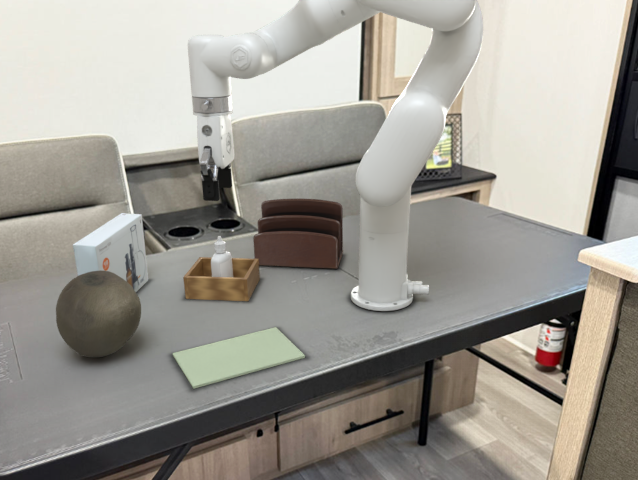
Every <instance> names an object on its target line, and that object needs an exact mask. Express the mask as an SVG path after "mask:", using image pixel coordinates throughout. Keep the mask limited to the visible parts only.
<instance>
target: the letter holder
mask: <svg viewBox="0 0 638 480" xmlns="http://www.w3.org/2000/svg"><path fill="white" fill-rule="evenodd" d="M260 207H261V208H260V209H261V217H260V218H259V219H257V233H256V234H254V236H253V237H252V238H253V239H252V240H253V242H252V243H253V256H254V258H253V259H259V267H280V268H281V267H282V268H284V267H285V268H307V269H327V270H338V268H339V265H340V263H341V260H342V257H343V253H344V250H343V249H344V247H343V245H344V241H343V240H344V239H343V238H344V237H343V236H344V232H343V230H344V229H343V227H344V226H343V225H344V224H343V223H344V222H343V220H344V219H343V218H344V215H343V214H344V213H343V212H344V211H343V210H344V209H343V205H342V204H341V203H339V202H337V201H332V200H327V199H326V200H325V199H317V198H277V199H270V200H264V201H262V202H261V205H260Z"/></svg>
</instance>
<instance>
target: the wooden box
mask: <svg viewBox="0 0 638 480" xmlns="http://www.w3.org/2000/svg"><path fill="white" fill-rule="evenodd" d="M211 259H212V256H211V257H207V256H206V257H205V256H199V257H198V258H197V259H196V260H195V262H194V263H193V264H192V266H191V267H190V268H189V269H188V270H187V272H186V273H185V274H184V275H183V276H182V278H183V279H182V280H183V286H184V296H185V299H186V300H203V301H204V300H205V301H229V302H230V301H231V302H232V301H233V302H249V301H250V299H251V297H252V296H253V293H254V291H255V289H256V287H257V286H258V284H259V282H260V280H261V278H260V276H261V275H260V266H259V259H254V258H245V257H244V258H243V257H232V267H233V277H212V271H211Z"/></svg>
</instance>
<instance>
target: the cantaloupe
mask: <svg viewBox="0 0 638 480" xmlns="http://www.w3.org/2000/svg"><path fill="white" fill-rule="evenodd" d="M139 297H140V296H139V295H138V294H137V292H135V291H134V289H133V287H132V286H131V285H130V284H129V283H128V282H127V281H125V280H124V279H123V278H121V277H119V276H118V275H116V274H115V273H112V272H109V271H101V270H100V271H91V272H87V273H84V274H81V275H79V276H78V275H77V276H75V277H74V278H72V279H71V280H70V281H68V283H67V284H66V285H65V286H64V287H63V288H62V290H61V292H60V293H59V296H58V297H57V301H56V305H55V322H56V327H57V330H58V333H59V335H60V336H61V338H62V340H63V341H64V343H65V344H66V345H67V346H68V347H69V348H70V349H72V351H74V352H75V353H76V354H78V355H80V356H83V357H86V358H102V357H107V356H110V355H111V354H114V353H116V352H117V351H119V350H120V349H122V348H123V347H124V346H125V345H126V344H127V342H128V341H129V340H130V339H131V338H132V337H133V336H134V335H135V333H136V331H137V329H138V328H139V325H140V322H141V318H142V303H141V299H140V298H139Z"/></svg>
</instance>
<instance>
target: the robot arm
mask: <svg viewBox="0 0 638 480" xmlns="http://www.w3.org/2000/svg"><path fill="white" fill-rule="evenodd" d="M380 13H382V14H385V15H388V16H390V17H394V18H397V19H399V20H403V21H406V22H410V23H412V24H417V25H420V26H423V27H426V28H429V29H431V37H430V41H429V45H428V47H427V49H426V50H425V52H424V54H423V56H422V58H421V60H420V61H419V63H418V65H417V67H416V69H415V71H414V73H413V74H412V75H411V78H410V79H409V81H408V83H407V85H406V86H405V87H404V89H403V90H402V92H401V94H400V95H399V96H398V97H397V98H396V100H395V101H394V102H393V104H392V106H391V108H390V110H389V112H388V114H387V115H386V118H385V120H384V121H383V123H382V125H381V127H380V128H379V130H378V132H377V134H376V135H375V137H374V139H373V140H372V142H371V144H370V146H369V148H368V149H367V150H366V152H365V153H364V154H363V156H362V158H361V160H360V162H359V164H358V166H357V169H356V172H355V176H354V177H355V178H354V180H355V182H354V183H355V188H356V191H357V193H358V195H359V196H360V198H359V199H360V200H359V201H360V202H359V226H358V228H359V229H358V231H359V233H358V235H359V236H358V238H359V239H358V284H357V285H356V286H355V287H353V288H352V289H351V291H350V300H351V301H352V303H354V305H356V306H358V307H360V308H362V309H365V310H369V311H374V312H393V311H398V310H401V309H402V310H403V309H404V308H406V307H408V306H409V305H411V304H412V302H413V300H414V295H415V294H416V295H427V296H428V295H429V294H430V285H429V284H423V281H422V280H415V281H414V280H413V281H412V280H411V279H408V278H409V277H408V275H409V274H408V273H407V271H408V269H407V268H408V266H407V265H408V250H409V248H408V247H409V231H410V230H409V229H410V214H411V197H412V186H413V184H414V183H415V181H416V179H417V178H418V176H419V175H420V173H421V171H422V170H423V168H424V167H425V165H426V163H427V162H428V160H429V158H430V157H431V155H432V153H433V152H434V151H435V149H436V148H437V145H438V144H439V142H440V140H441V138H442V136H443V134H444V131H445V127H446V122H447V121H446V118H447V115H448V113H449V111H450V110H451V107H452V106H453V104H454V102H455V101H456V99H457V97H458V96H459V94H460V93H461V91H462V88H463V87H464V85H465V84H466V82H467V80H468V78H469V76H470V75H471V73H472V71H473V69H474V67H475V65H476V63H477V61H478V58H479V56H480V54H481V50H482V45H483V41H484V40H483V39H484V20H483V19H484V18H483V12H482V9H481V6H480V3H479V1H478V0H298V1H297V2H296V4H295V5H294V6H293V7H292V8H291V9H290V10H288V11H287V12H285V13H283V15H280V17H278V18H275V19H274V20H273V21H271V22H269V23H267V24H266V25H264V26H262V27H260V28H259V29H257V30H255V31H251V32H245V33H239V34H234V35H226V36H224V35H222V34H198V35H192V36H190V38H189V39H188V41H187V54H188V55H187V56H188V69H189V79H190V92H191V93H190V94H191V107H192V115H194V116H196V131H197V132H196V133H197V135H196V136H197V137H196V138H197V155H198V162H199V167H200V174H201V176H200V177H201V179H200V180H201V187H202V199H203V201H207V202H208V201H209V202H219V201H220V200H221V195H220V189H231V188H232V187H233V178H232V177H233V176H232V162H233V161H234V160H235V157H236V154H235V153H236V152H235V142H234V141H235V140H234V132H233V124H232V123H233V122H232V117H231V115H232V114H234V112H233V98H232V97H233V96H232V79H231V78H234V79H241V80H249V79H253V78H256V77H258V76H261V75H264V74H266V73H268V72H270V71H272V70H274V69H276V68H277V67H279V66H281V65H283V64H285V63H286V62H289V61H290V60H292V59H295V58H296V57H297V56H299V55H301V54H303V53H305V52H306V51H308V50H311V49H313V48H315V47H318V46H321V45H323V44H324V43H327V42H328V41H330V40H332V39H334V38H335V37H337V36H339V35H341V34H343V33H345V32H346V31H348V30H350V29H352V28H354V27H355V26H357V25H359V24H361V23H363V22H366V21H367V20H369V19H371V18H373V17H374V16H376V15H379V14H380Z"/></svg>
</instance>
